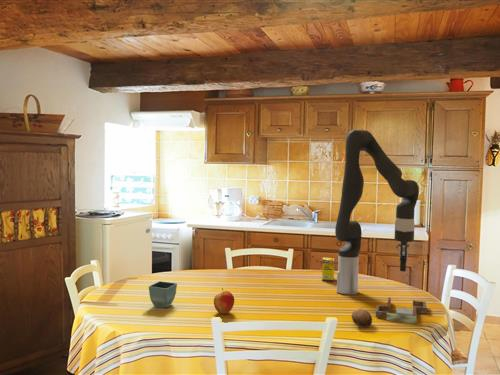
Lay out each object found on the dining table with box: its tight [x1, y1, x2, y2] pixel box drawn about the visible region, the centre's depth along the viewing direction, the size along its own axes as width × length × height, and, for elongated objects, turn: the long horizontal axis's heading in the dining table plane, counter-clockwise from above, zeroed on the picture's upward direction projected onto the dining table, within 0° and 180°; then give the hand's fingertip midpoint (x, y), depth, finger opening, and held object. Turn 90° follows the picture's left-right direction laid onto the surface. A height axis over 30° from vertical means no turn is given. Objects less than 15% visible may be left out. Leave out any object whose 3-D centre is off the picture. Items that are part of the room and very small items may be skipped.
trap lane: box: [375, 297, 428, 325], centre depth 180 cm, size 19×22×2 cm
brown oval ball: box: [351, 308, 373, 329], centre depth 166 cm, size 8×8×6 cm
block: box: [395, 307, 413, 316], centre depth 174 cm, size 6×6×4 cm
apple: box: [213, 287, 235, 315], centre depth 177 cm, size 8×8×10 cm
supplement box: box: [321, 257, 335, 282], centre depth 229 cm, size 6×6×11 cm
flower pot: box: [148, 280, 178, 309], centre depth 185 cm, size 9×9×9 cm
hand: (402, 270), depth 182 cm, fingers closed
